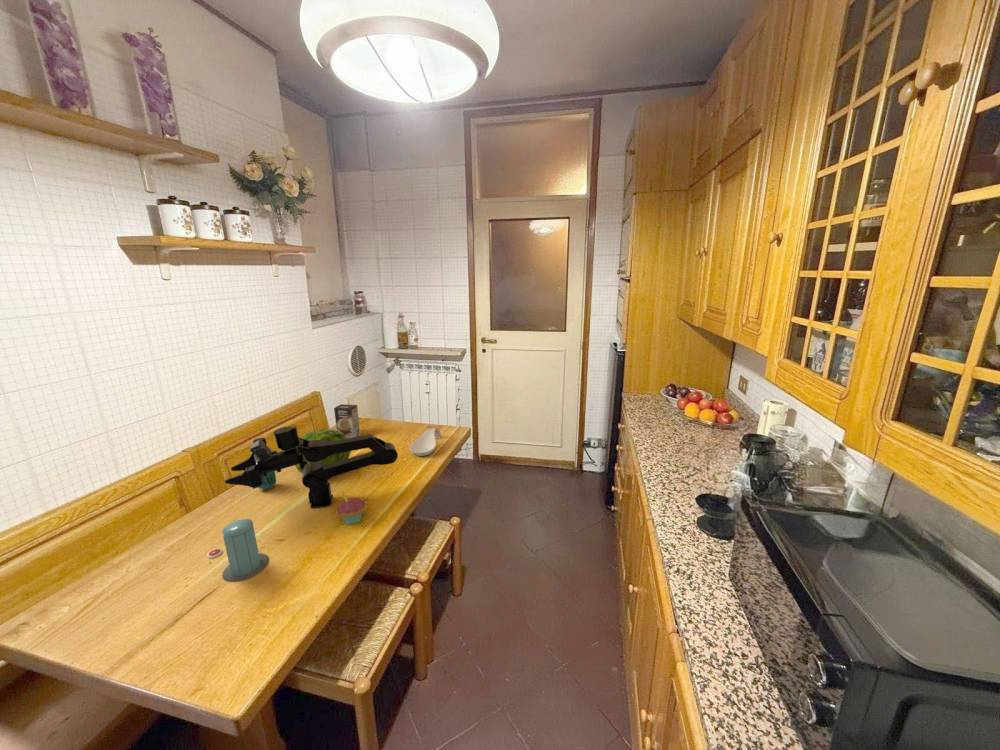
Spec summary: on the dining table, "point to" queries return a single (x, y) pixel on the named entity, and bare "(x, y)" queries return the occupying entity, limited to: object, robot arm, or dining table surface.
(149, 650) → the dining table surface
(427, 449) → the spoon rest
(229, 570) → the disc
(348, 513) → the cupcake
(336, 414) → the coffee box
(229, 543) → the blue-grey tall faceted cylinder
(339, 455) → the lettuce
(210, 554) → the dip bowl
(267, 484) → the beverage bottle
